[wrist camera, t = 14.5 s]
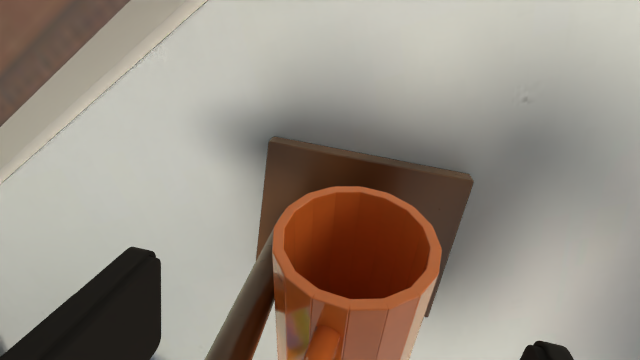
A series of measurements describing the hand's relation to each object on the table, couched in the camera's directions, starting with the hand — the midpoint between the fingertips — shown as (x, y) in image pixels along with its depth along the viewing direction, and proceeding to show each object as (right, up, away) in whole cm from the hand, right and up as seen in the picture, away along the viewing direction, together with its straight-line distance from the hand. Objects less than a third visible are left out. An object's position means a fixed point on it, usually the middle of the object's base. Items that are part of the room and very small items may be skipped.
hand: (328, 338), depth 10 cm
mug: (0, -7, +9) cm, 11 cm away
